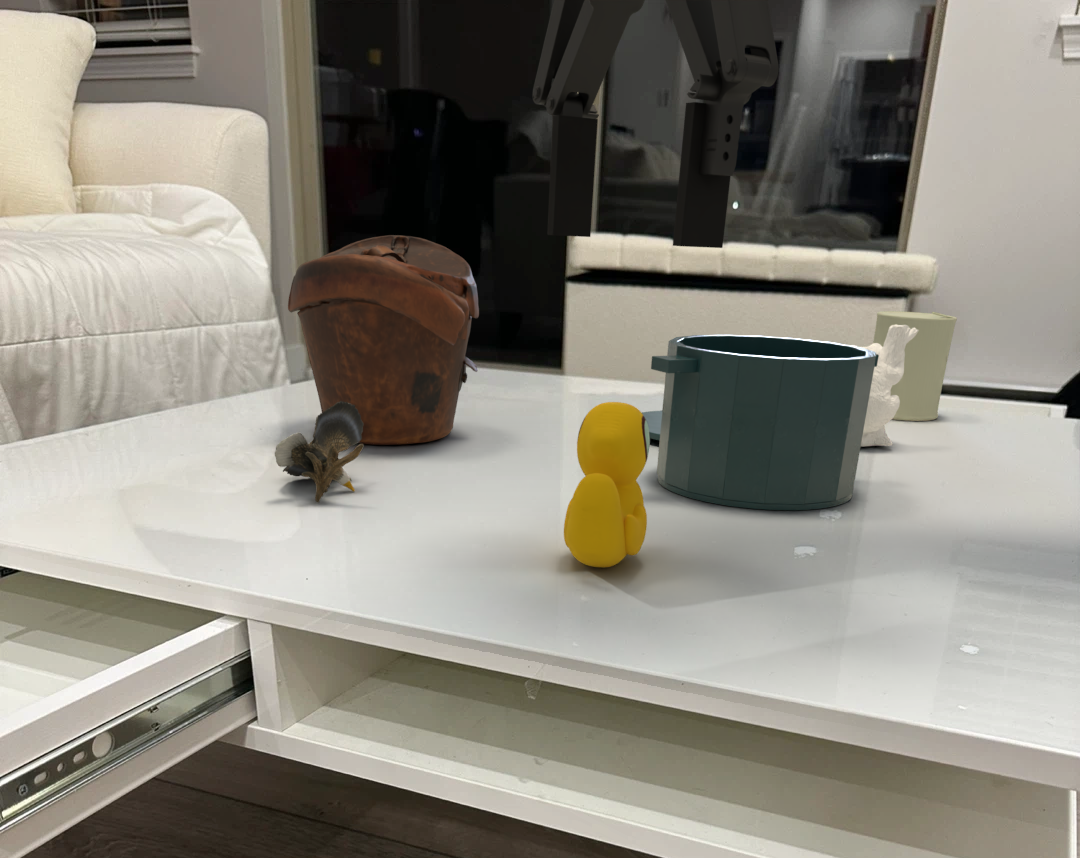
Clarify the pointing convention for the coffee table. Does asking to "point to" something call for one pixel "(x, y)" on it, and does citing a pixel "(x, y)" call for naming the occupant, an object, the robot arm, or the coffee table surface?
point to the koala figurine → (885, 384)
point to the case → (389, 333)
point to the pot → (762, 420)
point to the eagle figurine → (324, 448)
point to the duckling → (609, 486)
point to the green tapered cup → (919, 361)
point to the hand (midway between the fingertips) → (627, 241)
